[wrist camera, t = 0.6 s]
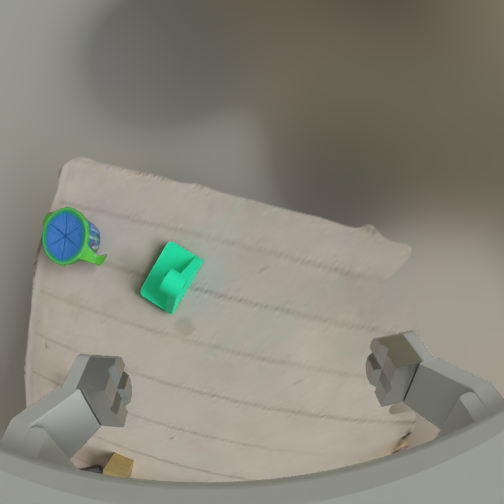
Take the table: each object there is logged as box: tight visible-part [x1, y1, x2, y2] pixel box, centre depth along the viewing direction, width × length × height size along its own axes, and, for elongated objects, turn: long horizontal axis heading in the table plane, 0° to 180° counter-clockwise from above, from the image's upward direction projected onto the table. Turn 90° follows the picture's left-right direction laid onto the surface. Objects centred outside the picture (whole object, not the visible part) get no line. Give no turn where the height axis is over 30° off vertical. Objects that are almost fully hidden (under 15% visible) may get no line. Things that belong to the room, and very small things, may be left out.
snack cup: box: [42, 207, 107, 266], centre depth 54 cm, size 16×10×10 cm
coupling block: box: [101, 453, 134, 478], centre depth 53 cm, size 7×5×8 cm
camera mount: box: [140, 241, 204, 314], centre depth 55 cm, size 12×8×10 cm, turn 149°
